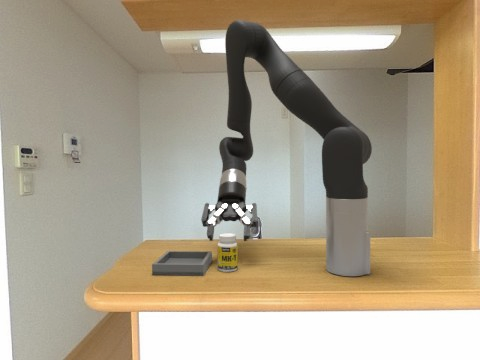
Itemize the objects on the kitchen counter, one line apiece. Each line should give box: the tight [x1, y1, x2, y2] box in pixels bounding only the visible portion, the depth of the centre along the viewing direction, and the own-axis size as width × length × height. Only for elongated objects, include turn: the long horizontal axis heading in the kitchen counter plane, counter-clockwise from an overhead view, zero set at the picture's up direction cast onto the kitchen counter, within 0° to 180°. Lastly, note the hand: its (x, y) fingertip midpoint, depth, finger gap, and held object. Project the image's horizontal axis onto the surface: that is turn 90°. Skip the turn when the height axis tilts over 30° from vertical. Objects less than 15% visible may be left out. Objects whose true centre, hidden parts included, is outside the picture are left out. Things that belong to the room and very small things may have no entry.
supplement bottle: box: [217, 232, 239, 273], centre depth 81 cm, size 5×5×8 cm
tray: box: [151, 250, 213, 277], centre depth 83 cm, size 12×12×2 cm
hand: (227, 239), depth 82 cm, fingers open, 8 cm apart
